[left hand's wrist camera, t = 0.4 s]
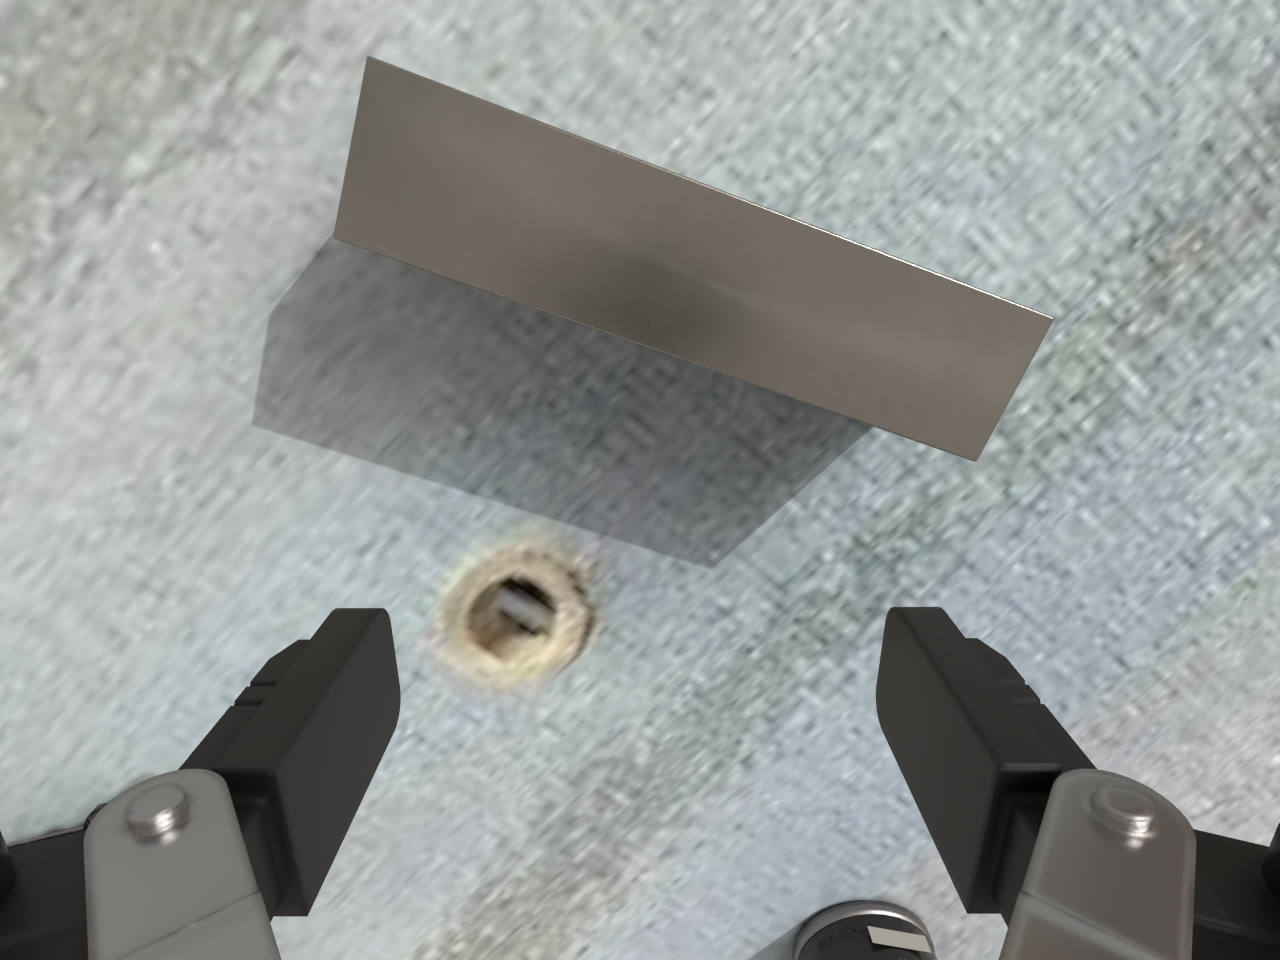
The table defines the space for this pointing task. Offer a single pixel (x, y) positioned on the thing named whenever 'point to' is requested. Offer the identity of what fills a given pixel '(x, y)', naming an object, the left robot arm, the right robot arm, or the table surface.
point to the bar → (676, 264)
